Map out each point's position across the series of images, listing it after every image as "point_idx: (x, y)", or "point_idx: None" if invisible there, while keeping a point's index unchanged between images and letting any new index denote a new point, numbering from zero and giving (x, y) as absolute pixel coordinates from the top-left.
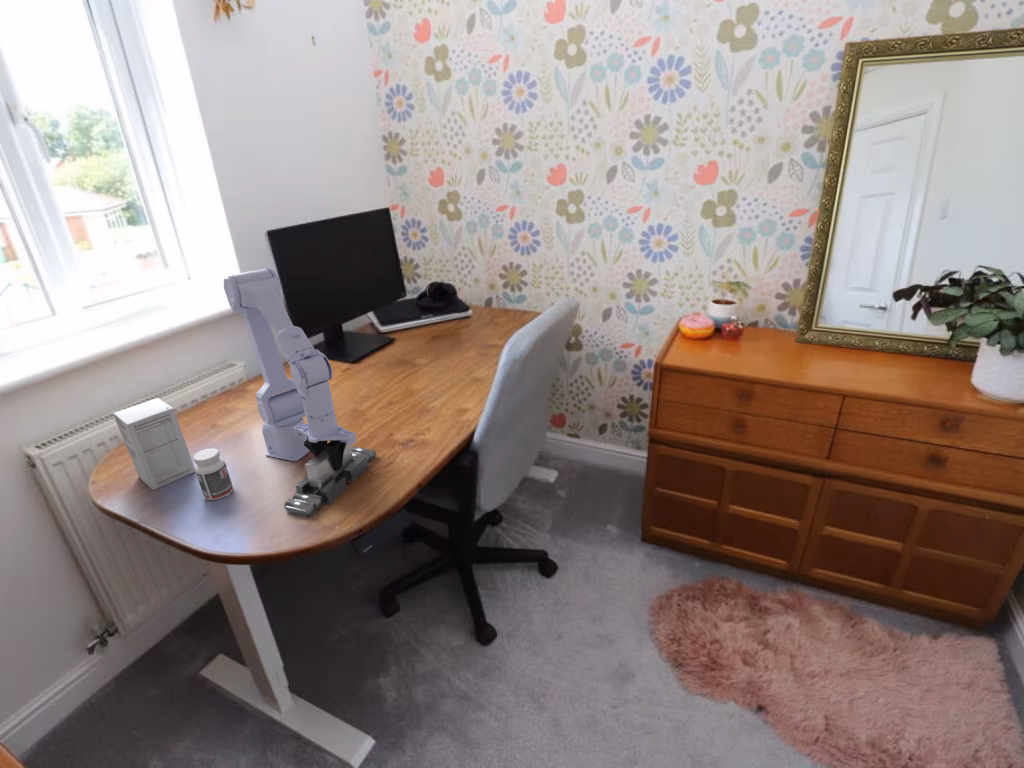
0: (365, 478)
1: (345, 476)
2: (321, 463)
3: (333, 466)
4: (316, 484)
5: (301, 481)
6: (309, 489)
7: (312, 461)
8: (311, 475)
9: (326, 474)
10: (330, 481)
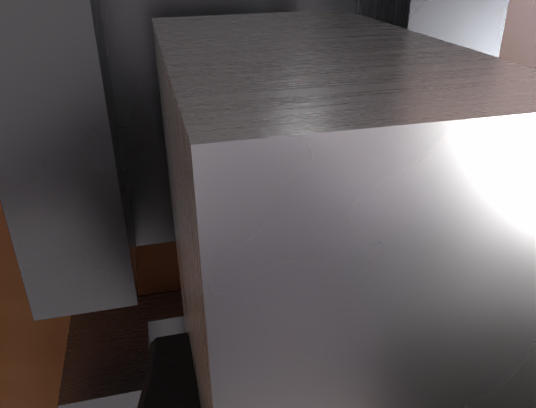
0: (16, 389)
1: (145, 330)
2: (207, 336)
3: (177, 381)
4: (239, 21)
5: (493, 24)
6: None
7: (500, 289)
8: (351, 44)
9: (177, 214)
10: None
